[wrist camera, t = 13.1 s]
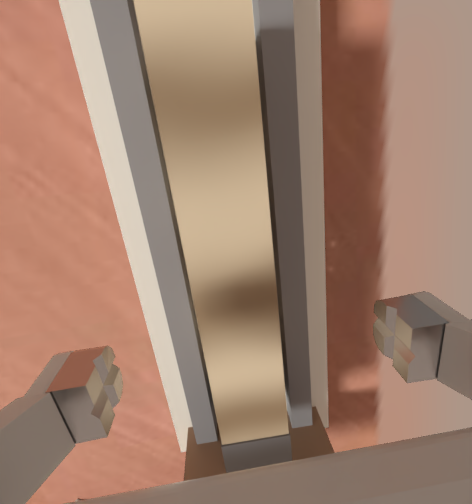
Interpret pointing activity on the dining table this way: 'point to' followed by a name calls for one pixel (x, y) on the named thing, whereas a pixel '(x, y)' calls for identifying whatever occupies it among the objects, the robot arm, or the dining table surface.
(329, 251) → the dining table surface
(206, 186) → the wooden block
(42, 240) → the dining table surface
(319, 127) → the slot board
